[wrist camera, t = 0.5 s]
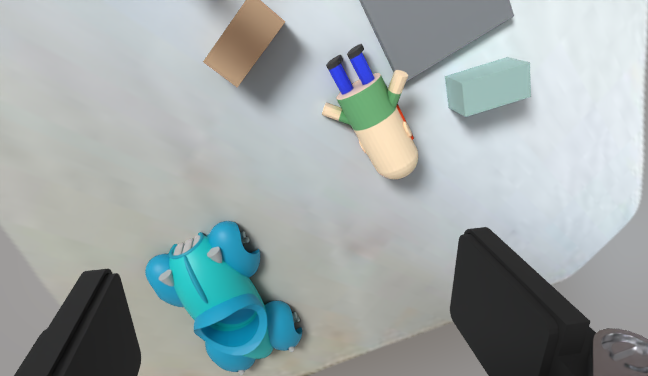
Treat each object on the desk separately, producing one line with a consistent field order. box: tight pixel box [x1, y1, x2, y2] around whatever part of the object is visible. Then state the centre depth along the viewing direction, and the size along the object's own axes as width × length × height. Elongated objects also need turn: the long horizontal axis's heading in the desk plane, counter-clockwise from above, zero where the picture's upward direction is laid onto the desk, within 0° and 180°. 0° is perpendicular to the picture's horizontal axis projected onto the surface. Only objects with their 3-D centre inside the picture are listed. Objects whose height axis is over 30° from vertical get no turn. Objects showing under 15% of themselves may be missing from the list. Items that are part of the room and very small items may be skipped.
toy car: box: [146, 221, 302, 375], centre depth 41 cm, size 11×18×7 cm, turn 24°
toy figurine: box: [322, 44, 418, 179], centre depth 35 cm, size 8×4×12 cm
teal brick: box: [445, 57, 531, 117], centre depth 36 cm, size 6×3×4 cm, turn 105°
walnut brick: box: [203, 0, 285, 87], centre depth 31 cm, size 6×3×4 cm, turn 140°
